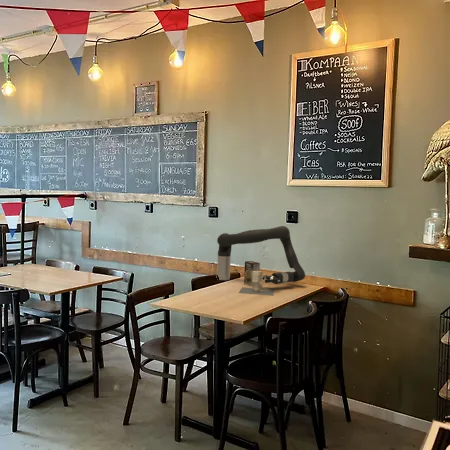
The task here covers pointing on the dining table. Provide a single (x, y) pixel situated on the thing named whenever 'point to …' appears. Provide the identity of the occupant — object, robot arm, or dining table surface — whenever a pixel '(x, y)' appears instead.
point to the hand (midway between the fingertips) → (261, 280)
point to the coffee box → (250, 271)
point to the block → (257, 281)
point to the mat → (264, 292)
